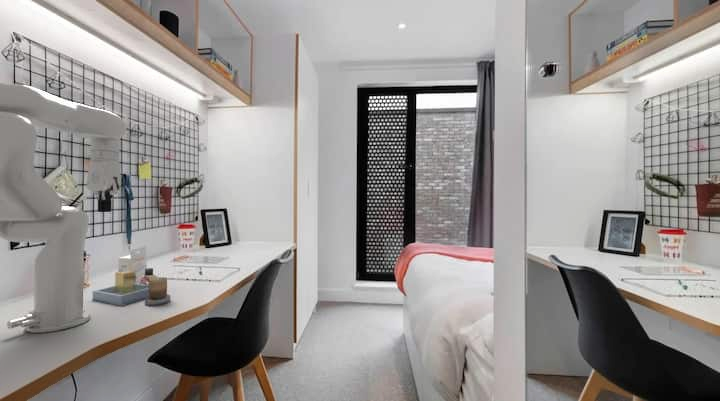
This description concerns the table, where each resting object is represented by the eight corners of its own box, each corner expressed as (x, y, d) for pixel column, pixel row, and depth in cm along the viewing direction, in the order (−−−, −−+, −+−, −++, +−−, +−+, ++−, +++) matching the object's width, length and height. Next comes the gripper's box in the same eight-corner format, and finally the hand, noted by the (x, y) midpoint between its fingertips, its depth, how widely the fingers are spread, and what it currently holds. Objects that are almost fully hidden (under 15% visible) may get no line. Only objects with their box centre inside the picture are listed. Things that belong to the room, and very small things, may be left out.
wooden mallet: (168, 296, 102) (168, 276, 102) (150, 300, 99) (150, 278, 99) (156, 285, 114) (156, 267, 114) (139, 288, 111) (139, 269, 111)
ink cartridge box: (134, 282, 124) (135, 245, 124) (146, 283, 124) (147, 246, 123) (117, 289, 115) (117, 249, 115) (130, 289, 115) (131, 249, 115)
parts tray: (120, 305, 99) (121, 296, 98) (92, 300, 103) (92, 291, 103) (155, 295, 109) (155, 286, 109) (128, 290, 114) (129, 282, 114)
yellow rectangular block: (123, 297, 104) (123, 273, 104) (115, 296, 105) (115, 272, 105) (135, 294, 107) (135, 271, 107) (127, 292, 109) (127, 269, 109)
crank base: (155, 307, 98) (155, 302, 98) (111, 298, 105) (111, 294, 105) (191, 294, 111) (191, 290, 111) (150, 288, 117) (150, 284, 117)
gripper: (77, 156, 104) (77, 211, 104) (107, 155, 99) (107, 213, 99) (102, 159, 111) (102, 210, 111) (132, 158, 106) (131, 212, 106)
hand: (104, 211), depth 105 cm, fingers closed
